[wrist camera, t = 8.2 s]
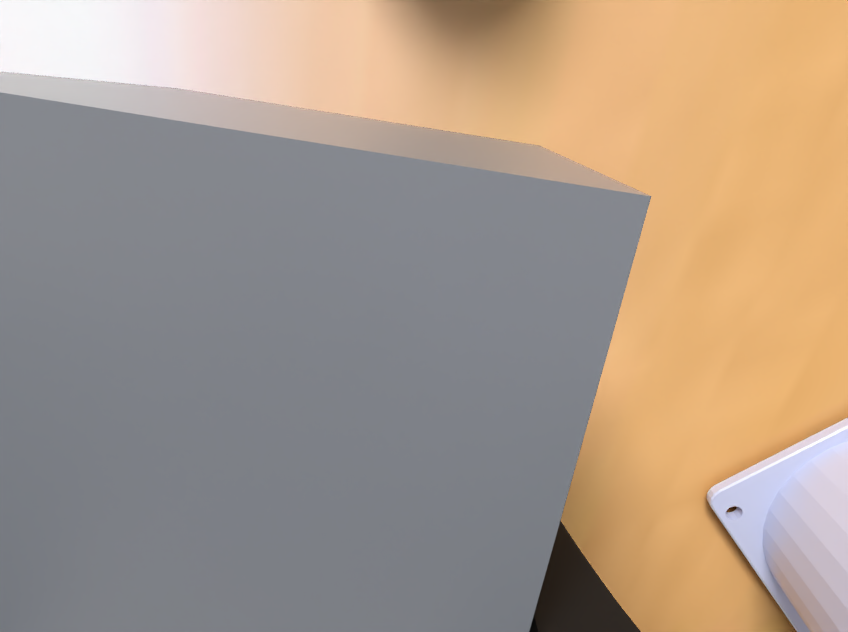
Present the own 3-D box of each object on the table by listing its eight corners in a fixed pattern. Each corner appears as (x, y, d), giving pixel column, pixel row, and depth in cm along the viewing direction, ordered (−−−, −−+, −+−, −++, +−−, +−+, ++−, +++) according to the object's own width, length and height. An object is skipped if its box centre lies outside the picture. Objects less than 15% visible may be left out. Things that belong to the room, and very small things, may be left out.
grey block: (433, 653, 13) (400, 1092, 7) (177, 605, 13) (-61, 995, 7) (539, 145, 9) (650, 196, 3) (176, 88, 9) (-315, 41, 3)
